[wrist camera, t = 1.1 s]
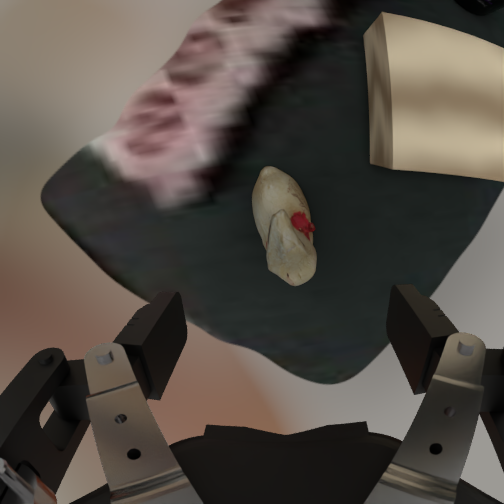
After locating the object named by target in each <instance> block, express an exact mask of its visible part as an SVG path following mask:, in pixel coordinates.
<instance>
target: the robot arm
mask: <svg viewBox="0 0 504 504" xmlns="http://www.w3.org/2000/svg"><path fill="white" fill-rule="evenodd" d="M386 331H387V336H388V338H389V340H390V342H391V345H392V347H393V349H394V351H395V353H396V355H397V357H398V359H399V361H400V364H401V366H402V368H403V371H404V373H405V375H406V377H407V379H408V382H409V384H410V386H411V389H412V391H413V393H414V395H416V394H422V393H426V394H425V397H424V399H423V401H422V403H421V406H420V408H419V410H418V412H417V414H416V416H415V419H414V421H413V422H412V425H411V427H410V429H409V430H408V432H407V434H406V436H405V438H404V440H403V441H401V440H399V439H396V438H394V437H391V436H388V435H384V434H379V433H373V432H368V427H367V423H366V421H364V422H356V423H346V424H335V425H326V426H323V427H319V428H315V429H311V430H307V431H304V432H299V433H295V434H290V435H282V434H276V433H271V432H266V431H262V430H257V429H252V428H248V427H237V426H219V425H206V428H205V432H204V435H203V436H196V437H191V438H188V439H184V440H181V441H178V442H176V443H173V444H171V445H169V446H168V444H167V442H166V440H165V438H164V436H163V434H162V432H161V430H160V429H159V427H158V424H157V422H156V420H155V418H154V416H153V414H152V412H151V410H150V408H149V406H148V404H147V399H154V400H160V399H161V397H162V395H163V392H164V390H165V388H166V385H167V383H168V381H169V379H170V377H171V374H172V372H173V370H174V368H175V365H176V363H177V361H178V359H179V357H180V354H181V352H182V350H183V348H184V346H185V343H186V340H187V325H186V320H185V315H184V310H183V304H182V299H181V295H180V293H179V292H159V293H158V294H157V296H156V297H155V298H154V299H153V301H152V302H151V303H150V304H147V305H145V306H143V307H142V308H140V309H139V310H137V312H136V313H135V314H134V316H133V317H132V319H130V321H129V322H128V323H127V325H126V326H125V327H124V328H123V330H122V331H121V332H120V333H119V335H118V336H117V337H116V338H115V340H114V341H113V343H103V344H100V345H97V346H95V347H93V348H92V349H90V350H89V351H88V352H87V353H86V355H85V357H84V359H81V360H70V361H67V359H66V357H65V355H64V353H63V351H62V350H61V349H59V348H47V349H44V350H42V351H40V352H38V353H37V354H35V355H34V356H33V357H32V358H31V359H30V360H29V362H28V363H27V364H26V365H25V366H24V368H23V369H22V370H21V371H20V372H19V373H18V374H17V376H16V377H15V378H14V379H13V380H12V382H11V383H10V384H9V385H8V386H7V388H6V389H5V390H4V391H3V393H2V394H1V395H0V504H57V499H56V496H55V494H56V492H57V490H58V488H59V486H60V484H61V481H62V479H63V477H64V475H65V473H66V471H67V468H68V467H69V464H70V462H71V460H72V458H73V456H74V454H75V452H76V450H77V448H78V446H79V444H80V442H81V440H82V438H83V436H84V434H85V432H86V430H87V428H88V426H89V424H90V422H91V425H92V430H93V434H94V437H95V442H96V446H97V449H98V453H99V456H100V460H101V463H102V467H103V470H104V473H105V476H106V479H107V482H108V483H107V484H105V485H103V486H102V487H100V488H98V489H97V490H95V491H93V492H91V493H89V494H87V495H85V496H83V497H81V498H79V499H77V500H75V501H73V502H71V503H69V504H504V503H502V502H500V501H498V500H496V499H495V498H493V497H491V496H489V495H487V494H486V493H484V492H482V491H481V490H479V489H477V488H476V487H474V486H472V485H471V484H469V483H467V482H466V481H464V480H462V479H461V478H460V476H461V474H462V471H463V468H464V465H465V462H466V459H467V456H468V453H469V450H470V446H471V443H472V439H473V436H474V432H475V428H476V424H477V421H478V416H479V414H480V416H481V418H482V421H483V423H484V425H485V427H486V430H487V432H488V434H489V436H490V439H491V441H492V444H493V446H494V449H495V451H496V453H497V456H498V459H499V461H500V463H501V467H502V469H503V472H504V348H503V349H486V347H485V344H484V343H483V341H482V340H481V339H480V338H478V337H477V336H475V335H472V334H468V333H459V331H458V330H457V329H456V328H455V326H454V325H453V324H452V322H451V321H450V320H449V319H448V317H447V316H445V314H444V313H443V311H442V310H440V308H439V307H438V305H437V304H436V303H435V302H434V301H433V300H431V299H430V298H428V297H426V296H424V295H423V296H422V295H421V294H420V293H419V292H418V290H417V289H416V288H415V287H414V286H413V285H412V284H403V285H393V286H392V289H391V293H390V301H389V308H388V314H387V321H386ZM48 401H49V402H50V403H51V405H52V407H53V408H54V411H53V413H52V414H51V416H50V417H49V419H48V421H47V422H46V424H45V425H44V427H43V429H42V428H41V426H40V422H39V417H40V414H41V412H42V410H43V408H44V407H45V406H46V404H47V403H48Z"/></svg>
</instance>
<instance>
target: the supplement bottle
mask: <svg viewBox="0 0 504 504" xmlns="http://www.w3.org/2000/svg"><path fill="white" fill-rule="evenodd" d="M456 1H457V2H458V3H459V4H461V5H462V6H463V7H464V8H466V9H467V10H469V11H471V12H473V13H475V14H479V15H486V14H489V13H492V12H494V11H496V10H498V9H501V8H503V7H504V0H456Z"/></svg>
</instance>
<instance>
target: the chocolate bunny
mask: <svg viewBox="0 0 504 504" xmlns="http://www.w3.org/2000/svg"><path fill="white" fill-rule="evenodd" d="M252 206H253V214H254V219H255V223H256V226H257V229H258V232H259V233H260V235H261V238H262V241H263V245H264V247H265V249H266V250H267V262H268V264H267V265H268V268H269V270H270V271H271V272H273V273H275V274H277V275H278V276H279V277H280V278H282V279H283V280H284V281H286V282H288V283H289V284H290V285H293V286H298V285H300V284H303V283H305V282H307V281H308V280H309V279H310V278H311V277H312V276H313V275H314V273H315V270H316V261H317V255H316V250H315V248H314V246H313V233H312V232H313V231H314V230H315V226H314V224H313V223H311V218H310V211H309V207H308V204H307V201H306V199H305V196H304V195H303V193H302V191H301V189H300V187H299V185H298V184H297V182H296V181H295V180H294V179H293V178H292V177H291V176H289V175H288V174H286V173H284V172H282V171H281V170H279V169H277V168H275V167H272V166H266V167H264V168H263V169H262V170H261V171H260V175H259V177H258V180H257V182H256V184H255V186H254V189H253V193H252Z"/></svg>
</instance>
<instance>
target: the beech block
mask: <svg viewBox="0 0 504 504" xmlns="http://www.w3.org/2000/svg"><path fill="white" fill-rule="evenodd" d="M363 38H364V47H365V57H366V68H367V81H368V97H369V122H370V164H374V165H378V166H382V167H386V168H389V169H395V170H409V171H421V172H432V173H442V174H451V175H460V176H468V177H476V178H483V179H490V180H497V181H503V182H504V48H502V47H499V46H497V45H495V44H492V43H490V42H487V41H485V40H482V39H480V38H477V37H474V36H472V35H469V34H466V33H463V32H460V31H457V30H454V29H451V28H447V27H444V26H441V25H437V24H434V23H430V22H426V21H422V20H418V19H414V18H409V17H405V16H400V15H395V14H390V13H384V12H382V13H381V14H380V15H379V17H378V18H377V19H376V20H375V21H374V23H373V24H372V25H371V26H370V27H369V29H368V30H367V31H366V32H365V34H364V35H363Z"/></svg>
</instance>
